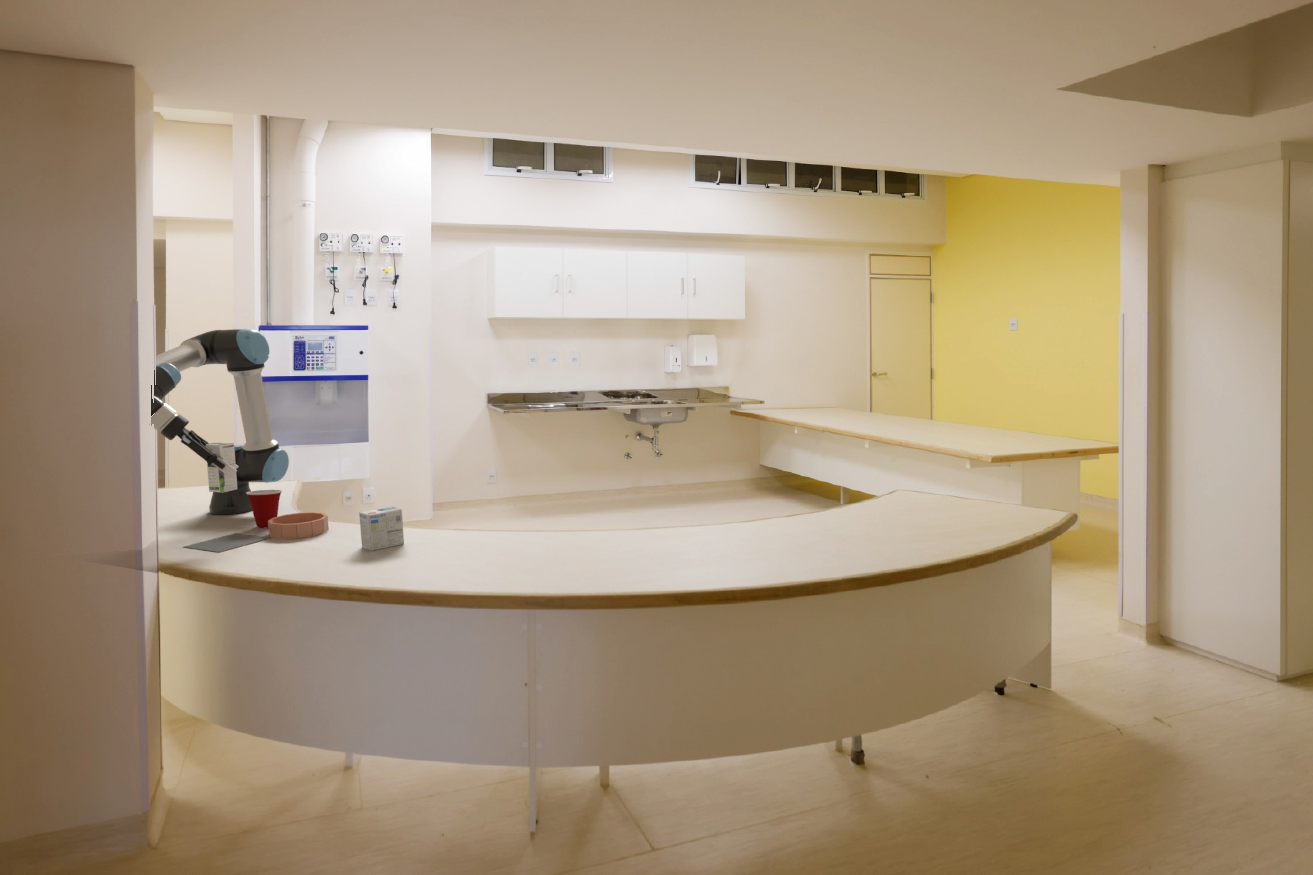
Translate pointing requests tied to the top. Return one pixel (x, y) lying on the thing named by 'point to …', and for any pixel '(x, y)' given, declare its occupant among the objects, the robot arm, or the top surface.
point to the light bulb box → (381, 528)
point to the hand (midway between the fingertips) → (234, 472)
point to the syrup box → (217, 477)
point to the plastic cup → (264, 505)
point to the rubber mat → (227, 542)
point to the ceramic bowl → (298, 525)
